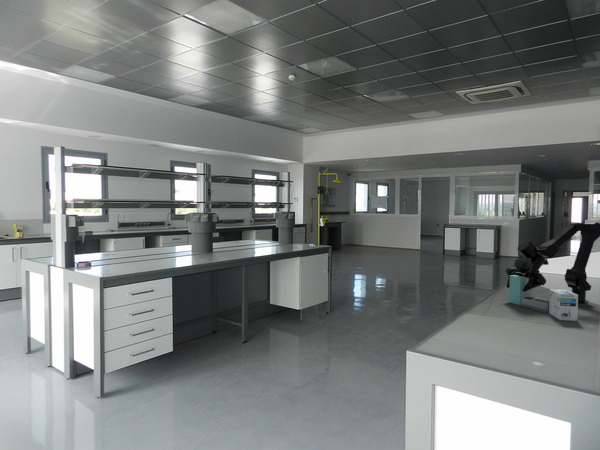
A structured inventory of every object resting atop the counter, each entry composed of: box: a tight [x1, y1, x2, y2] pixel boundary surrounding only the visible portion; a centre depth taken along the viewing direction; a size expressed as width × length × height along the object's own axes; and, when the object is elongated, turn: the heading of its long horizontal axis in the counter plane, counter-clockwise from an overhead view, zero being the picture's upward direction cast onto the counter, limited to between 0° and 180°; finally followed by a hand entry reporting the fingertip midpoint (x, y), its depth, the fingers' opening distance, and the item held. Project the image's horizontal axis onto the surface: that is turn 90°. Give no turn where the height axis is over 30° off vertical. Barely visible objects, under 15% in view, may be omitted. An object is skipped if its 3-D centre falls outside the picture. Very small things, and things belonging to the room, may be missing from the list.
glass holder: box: [515, 266, 534, 298], centre depth 208 cm, size 9×14×15 cm, turn 158°
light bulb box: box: [548, 288, 579, 322], centre depth 162 cm, size 11×7×11 cm, turn 168°
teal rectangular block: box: [508, 275, 526, 306], centre depth 187 cm, size 6×3×13 cm, turn 18°
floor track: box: [520, 296, 550, 314], centre depth 177 cm, size 12×9×4 cm
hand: (515, 289), depth 186 cm, fingers open, 9 cm apart
